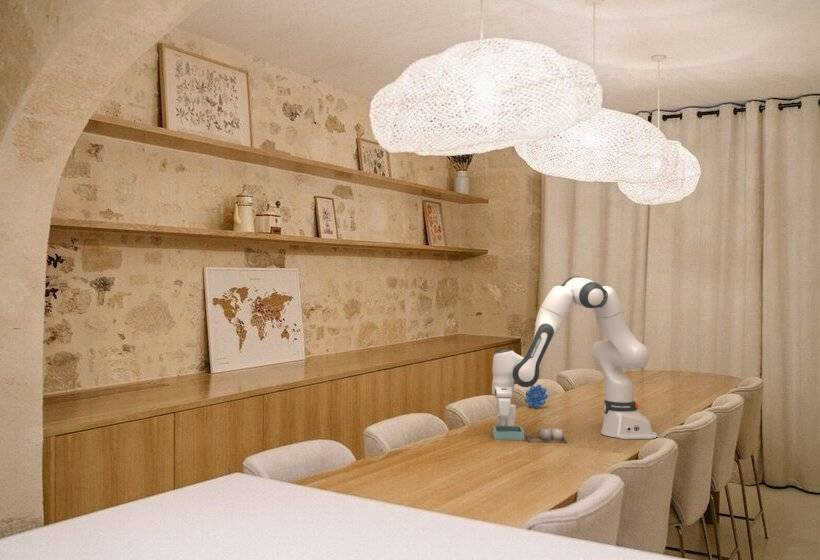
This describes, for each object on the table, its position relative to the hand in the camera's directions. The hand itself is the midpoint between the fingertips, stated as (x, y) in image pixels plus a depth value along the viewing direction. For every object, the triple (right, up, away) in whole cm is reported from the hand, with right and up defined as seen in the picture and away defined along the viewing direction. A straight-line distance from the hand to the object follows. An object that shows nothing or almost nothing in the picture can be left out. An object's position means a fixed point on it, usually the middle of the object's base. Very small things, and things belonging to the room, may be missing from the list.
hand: (502, 424), depth 299 cm
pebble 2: (+17, -5, -6) cm, 18 cm away
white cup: (+4, -6, +17) cm, 19 cm away
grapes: (+26, -6, +68) cm, 73 cm away
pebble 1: (0, -2, 0) cm, 2 cm away
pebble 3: (+21, -5, -6) cm, 22 cm away
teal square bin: (+2, -6, 0) cm, 6 cm away
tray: (+17, -6, -6) cm, 19 cm away
